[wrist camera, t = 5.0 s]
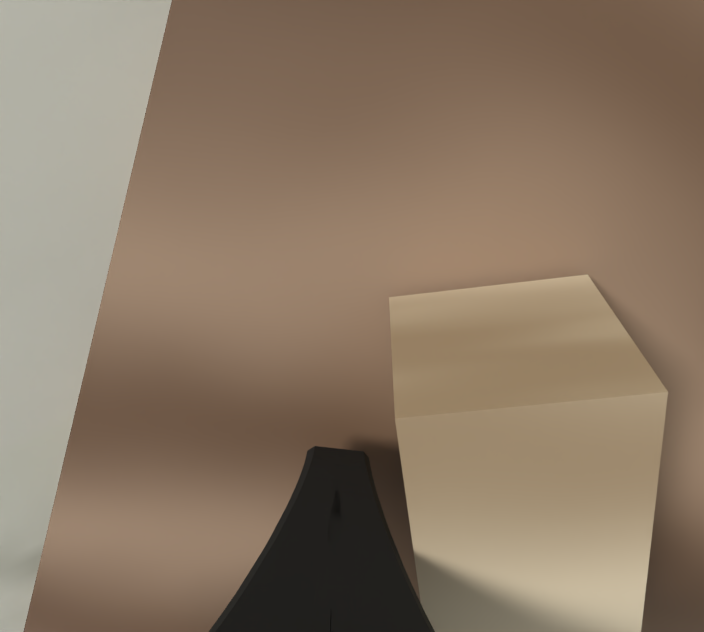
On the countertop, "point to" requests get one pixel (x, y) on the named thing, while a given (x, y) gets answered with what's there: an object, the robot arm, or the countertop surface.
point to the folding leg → (526, 456)
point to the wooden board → (366, 269)
